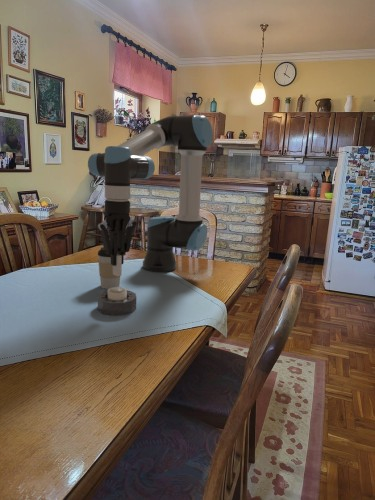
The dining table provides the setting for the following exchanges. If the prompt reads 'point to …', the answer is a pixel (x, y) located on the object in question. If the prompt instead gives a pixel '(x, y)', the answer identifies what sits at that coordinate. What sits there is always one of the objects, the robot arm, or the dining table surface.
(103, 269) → the coffee cup
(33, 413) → the dining table surface
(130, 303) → the dark round ashtray
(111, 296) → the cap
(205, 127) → the robot arm
